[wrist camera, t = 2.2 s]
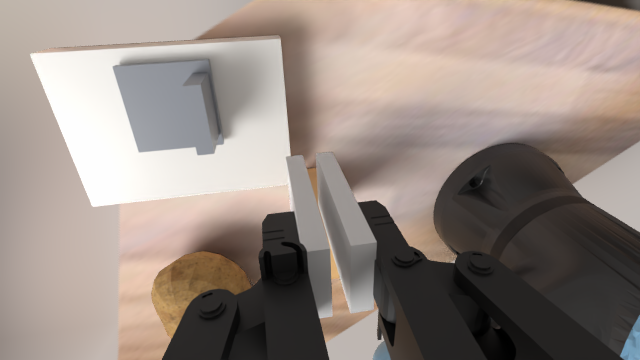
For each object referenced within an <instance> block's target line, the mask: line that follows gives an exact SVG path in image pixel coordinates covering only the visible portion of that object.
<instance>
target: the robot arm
mask: <svg viewBox="0 0 640 360" xmlns="http://www.w3.org/2000/svg"><path fill="white" fill-rule="evenodd" d="M286 166H287V177H288V188H289V199H290V209H291V212H283V213H275V214H268V215H267V216H266V218H265V219H264V221H263V223H262V232H263V249H262V250H261V251H260V254H259V264H260V270H261V279H260V280H259V281H258V282H257V284H255V285H254V286H253V287H251V288H250V289H248V290H246V291H244V292H241V293H239V294H236V295H234V294H233V293H232V292H230V291H229V290H225V289H212V290H208V291H206V292H203V293H201V294H199V295H198V296H197V297H195V298H194V299H193V300H192V301H191V302H190V304H189V305H188V306H187V308H186V310H185V312H184V314H183V316H182V318H181V321H180V323H179V325H178V327H177V329H176V331H175V333H174V335H173V337H172V339H171V342H170V344H169V346H168V348H167V350H166V352H165V354H164V356H163V358H162V360H329V357H328V352H327V348H326V344H325V340H324V336H323V331H322V327H321V323H320V319H319V318H325V317H332V287H331V254H330V246H331V250H332V253H333V256H334V260H335V263H336V266H337V270H338V273H339V276H340V280H341V283H342V286H343V290H344V293H345V296H346V300H347V303H348V306H349V310H350V313H356V312H363V311H369V310H374V299H375V301H376V304H377V306H378V309H379V312H378V329H377V336H378V340H381V335H383V338H384V340H385V341H383V342H382V343H381V344H380V345H379V346H378V347H377V349H376V351H375V353H374V356H373V360H640V232H638V231H636V230H635V229H633V228H632V227H630V226H628V225H627V224H625V223H623V222H622V221H620V220H619V219H617V218H615V217H614V216H612V215H610V214H608V213H607V212H605V211H604V210H602V209H600V208H599V207H597V206H595V205H594V204H592V203H590V202H589V201H587V200H586V199H584V198H583V197H582V196H581V195H580V194H579V193H578V191H577V190H576V189H575V187H574V186H573V185H572V184H571V182H570V181H569V180H568V179H567V178H566V177H565V175H564V173H563V171H562V170H561V168H560V167H559V165H558V164H557V163H556V162H555V161H554V160H553V159H551V158H550V157H549V156H547V155H545V154H544V153H542V152H540V151H538V150H536V149H534V148H532V147H530V146H527V145H523V144H502V145H497V146H494V147H491V148H488V149H485V150H483V151H481V152H479V153H477V154H475V155H474V156H472V157H470V158H469V159H467V160H466V161H465V162H464V163H462V164H461V165H460V166H459V167H458V168H457V169H456V170H455V171H454V172H453V173H452V174H451V175H450V176H449V178H448V179H447V180H446V182H445V183H444V185H443V186H442V188H441V190H440V192H439V194H438V197H437V199H436V203H435V207H434V224H435V228H436V231H437V233H438V235H439V236H440V238H441V239H442V240H443V241H444V243H445V244H446V245H447V247H448V248H449V249H450V250H451V251H452V252H453V253H454V254H456V255H457V258H456V260H455V263H446V262H437V261H431V260H428V259H427V258H426V256H425V255H424V254H423V253H422V252H421V251H419V250H417V249H416V248H414V247H410V246H409V245H408V243H407V242H406V240H405V239H404V237H403V235H402V234H401V232H400V230H399V229H398V227H397V225H396V224H395V223H394V221H393V219H392V217H390V214H389V212H388V211H387V209H386V207H385V206H383V205H382V204H380V203H379V202H377V201H376V200H375V201H367V202H358V203H357V201H356V199H355V197H354V195H353V193H352V191H351V189H350V186H349V184H348V182H347V180H346V178H345V176H344V174H343V172H342V170H341V168H340V166H339V164H338V162H337V160H336V158H335V156H334V154H333V152H326V153H316V168H317V189H318V205H317V202H316V198H315V195H314V192H313V188H312V185H311V181H310V178H309V175H308V171H307V168H306V165H305V161H304V158H303V155H296V156H286ZM318 206H319V209H320V212H319V209H318ZM320 213H321V215H320ZM321 216H322V219H323V222H322V219H321ZM323 223H324V226H325V229H326V232H325V229H324V226H323ZM326 233H327V236H328V239H329V242H328V239H327V236H326ZM329 243H330V246H329Z"/></svg>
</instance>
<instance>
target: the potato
mask: <svg viewBox="0 0 640 360" xmlns="http://www.w3.org/2000/svg"><path fill="white" fill-rule="evenodd" d="M250 288H251V285H250V282H249V280H248V278H247V276H246V274H245V272H244V271H243V270H242V269H241V268H240V267H239V266H238V265H237V264H235V263H234V262H233V261H231V260H229V259H227V258H225V257H224V256H222V255H220V254H215V253H211V252H207V251H200V252H195V253H191V254H187V255H184V256H182V257H181V258H179V259H178V260H176V261H174V262H173V263H171V264H170V265H168V266H167V267H165V268H164V269H163V270H161V271H160V272H159V273H158V275H157V277H156V279H155V280H154V284H153V288H152V293H151V295H152V301H153V304H154V307H155V309H156V312H157V314H158V316H159V317H160V319H161V321H162V323H163V325H164V327H165V330H166V332H167V334H168V336H169V337H171V338H172V337H173V335H174V333H175V331H176V329H177V327H178V325H179V323H180V321H181V318H182V316H183V314H184V312H185V310H186V308H187V306H188V305H189V304H190V302H191V301H192V300H193V299H194V298H195V297H197V296H198V295H199V294H201V293H203V292H206V291H208V290H212V289H225V290H229V291H230V292H232V293H233V294H234V295H236V294H239V293H241V292H244V291H246V290H248V289H250Z"/></svg>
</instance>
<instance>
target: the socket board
mask: <svg viewBox="0 0 640 360" xmlns="http://www.w3.org/2000/svg"><path fill="white" fill-rule="evenodd" d="M30 56H31V58H32V61H33V63H34V66H35V68H36V70H37V73H38V75H39V78H40V80H41V83H42V85H43V87H44V90H45V92H46V95H47V97H48V100H49V102H50V105H51V107H52V109H53V112H54V114H55V117H56V119H57V122H58V124H59V126H60V129H61V131H62V134H63V136H64V139H65V141H66V144H67V146H68V148H69V151H70V153H71V156H72V158H73V161H74V163H75V166H76V168H77V170H78V173H79V175H80V177H81V180H82V183H83V185H84V187H85V190H86V192H87V195H88V197H89V200H90V202H91V204H92V207H94V206H103V205H113V204H122V203H130V202H139V201H148V200H157V199H166V198H175V197H184V196H193V195H202V194H211V193H220V192H229V191H238V190H247V189H256V188H265V187H274V186H283V185H288V177H287V166H286V156H291V154H290V142H289V131H288V119H287V107H286V96H285V84H284V72H283V60H282V49H281V39H280V37H279V35H270V36H253V37H236V38H218V39H201V40H184V41H168V42H151V43H132V44H116V45H98V46H81V47H64V48H50V49H46V50H42V51H38V52H35V53H31V54H30ZM198 59H210V64H211V70H212V75H213V81H214V87H215V92H216V98H217V103H218V109H219V114H220V120H221V125H222V131H223V137H224V144H223V145H216V149H215V153H214V154H207V155H197V151H196V147H192V148H181V149H171V150H160V151H150V152H139V151H138V148H137V145H136V142H135V138H134V135H133V132H132V129H131V126H130V122H129V119H128V116H127V113H126V109H125V106H124V103H123V100H122V96H121V93H120V90H119V87H118V83H117V80H116V77H115V74H114V71H113V66H115V65H121V64H137V63H152V62H167V61H183V60H198Z"/></svg>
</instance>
